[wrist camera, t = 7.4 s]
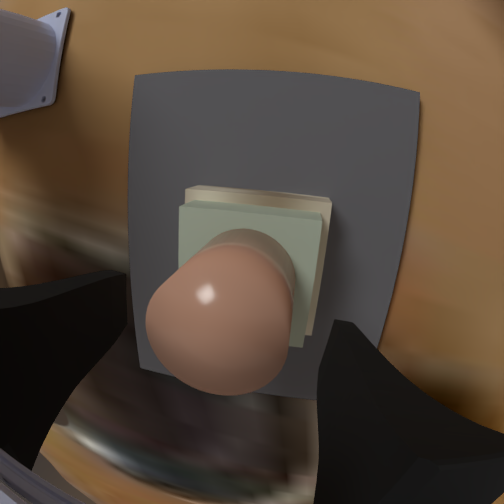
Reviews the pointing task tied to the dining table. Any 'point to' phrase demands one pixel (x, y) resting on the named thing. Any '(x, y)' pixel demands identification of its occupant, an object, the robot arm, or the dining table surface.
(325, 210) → the birch slab
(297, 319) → the sage slab
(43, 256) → the dining table surface
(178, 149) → the charcoal mat
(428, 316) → the dining table surface
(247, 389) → the rounded pink dome
